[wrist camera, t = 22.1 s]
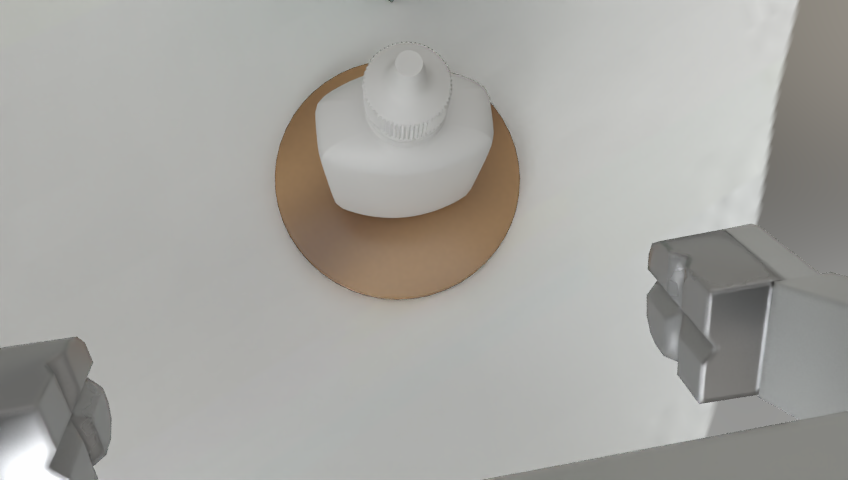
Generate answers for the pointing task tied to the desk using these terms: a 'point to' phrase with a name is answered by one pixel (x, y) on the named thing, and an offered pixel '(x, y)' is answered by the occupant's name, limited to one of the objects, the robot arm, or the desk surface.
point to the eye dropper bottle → (403, 135)
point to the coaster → (392, 237)
